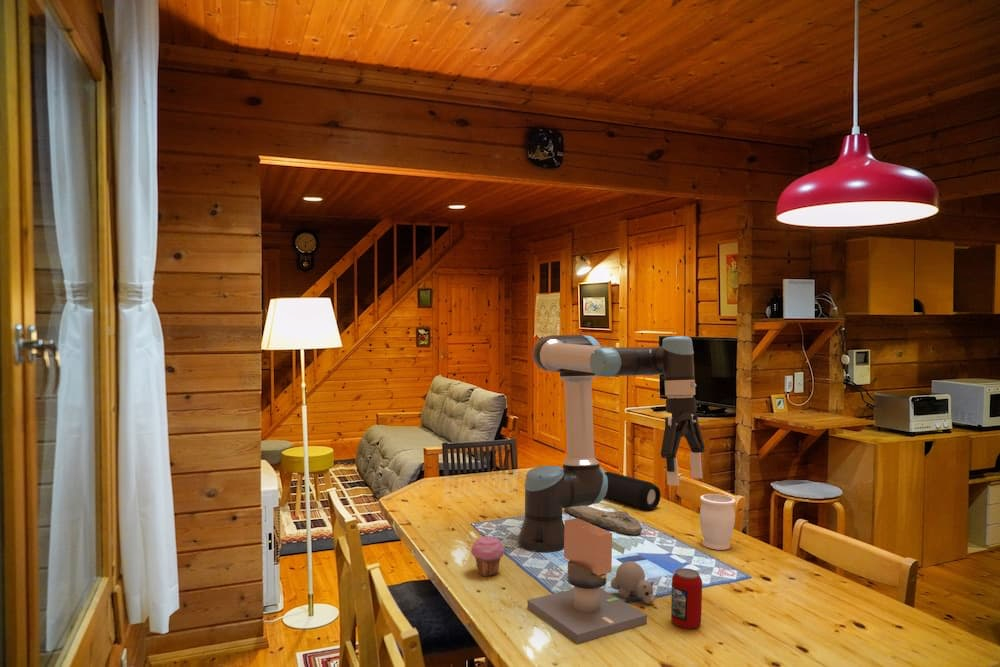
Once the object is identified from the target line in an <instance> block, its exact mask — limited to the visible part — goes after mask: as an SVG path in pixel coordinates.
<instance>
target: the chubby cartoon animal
mask: <svg viewBox="0 0 1000 667" xmlns="http://www.w3.org/2000/svg"><path fill="white" fill-rule="evenodd" d="M645 575H646V574H645V571H644V569H643V567H642V566H641V565H640V564H639V563H637V562H635V561H631V560H630V561H629V560H627V561H624V562H622V563H621V564H620V565H619V566H618V567H617V569H616V572H615V576H614V577H613V578H612V579H611V581H610V586H611V588H612V589H614V590H619V595H620V597H621V598H623V599H628V598H629V597H630V595H633V596H636V595H637V596H638V597H639V598H641V599H642V601H643V602H644V603H645V604H646V605H651V604H653V603H654V601H655V600H656V595H655V594H654V593H653V592H654V591H653V590H654V589H653V586H654V583H655V581H647V580H645V579H646V576H645Z"/></svg>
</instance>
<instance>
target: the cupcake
mask: <svg viewBox="0 0 1000 667" xmlns="http://www.w3.org/2000/svg"><path fill="white" fill-rule="evenodd" d="M504 554H505V547H504V544H503V542H502V541H501V540H499V539H498V538H497V537H494V536H485V535H484V536H481V537H477V539H476V540H475V541H474V543H473V545H472V547H471V555H472V556H474V559H475V561H476V568H477V570H478V573H479V574H480V575H481V576H483V577H487V576H493V575H497V574H498V573H499V571H500V562H501V558H502V557H503V556H504Z"/></svg>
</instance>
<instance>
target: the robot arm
mask: <svg viewBox="0 0 1000 667" xmlns="http://www.w3.org/2000/svg"><path fill="white" fill-rule="evenodd" d="M694 354H695V351H694V346H693V340H692V337H689V336H685V335H680V336H667V337H664V338H663V339H662V344H661V346H641V347H639V346H638V347H636V346H634V347H631V346H629V347H624V346H623V347H621V346H620V347H619V346H617V347H616V346H615V347H614V346H601V344H600V343H599V341H598V340H597V339H596V338H595V337H594V336H592V335H585V334H562V335H561V334H560V335H559V334H558V335H557V334H550V335H546V336H543V337H542V338H539V340H537V342H535V344H534V346H533V349H532V359H533V363H534V364H535V365H536V366H537V367H538V368H539V369H540V370H543V371H546V372H553V373H554V372H555V373H559V378H560V380H562V381H563V382H564V398H565V399H564V403H565V404H564V405H565V429H566V432H565V433H566V458H565V460H563V462H562V467H561V466H559V465H553V464H550V465H547V464H546V465H540V466H536V467H533V468H531V469H530V470H528V471H527V473H526V475H525V480H524V481H525V482H524V519H523V522H522V524H521V528H520V532H519V534H518V544H519V546H520V547H522V548H524V549H525V550H529V551H535V552H543V553H544V552H545V553H547V552H557V551H558V552H559V551H561V550H564V526H565V523H564V521H563V511H564V508H569V507H577V506H589V507H590V506H591V505H596V504H599V503H601V502H602V501H603V499H604V498H605V495H606V493H607V489H608V479H607V475H605V474H606V473H605V472H606V471H605V470H604V468H603V467H601V466H600V461H599V460H598V459H596V457H595V443H594V442H595V441H594V412H593V410H594V409H593V388H592V387H593V385H592V384H593V383H592V382H593V380H594V379H595V378H596V377H604V378H607V377H608V378H610V377H622V376H623V377H625V376H643V377H644V376H645V377H647V376H649V377H651V376H657V375H664V395H665V397H667V398H666V399H665V412H666V413H668V414H671V416H670V417H667V416H666V417H665V419H664V423H665V424H664V430H663V431H664V432H663V437H662V444H661V450H660V456H661V458H662V459H665V464H666V465H665V467H666V482H667V486H680V477H679V464H678V458H677V457H676V456H677V454H678V451H679V450H678V449H679V447H680V442H681V440H682V437H685V440H686V442H687V445H688V447H689V448H690V451H691V452H689V461H690V462H689V463H690V464H689V465H690V477H691V478H692V479H703V468H702V453H705V443H704V439H703V436H702V432H701V428H700V424H699V418H698V414H692V413H696V412H697V410H698V409H697V399H696V398H695V397H694V396H695V395H696V387H697V384H696V380H695V379H696V378H695V362H694V361H695V360H694V359H695V357H694Z"/></svg>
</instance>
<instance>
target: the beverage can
mask: <svg viewBox="0 0 1000 667" xmlns="http://www.w3.org/2000/svg"><path fill="white" fill-rule="evenodd" d="M702 601H703V580H702V578H701V576H700V573H699V571H697V570H695V569H693V568H686V567H685V568H684V567H682V568H677V569H676V570H675V573H674V574H673V575H672V577H671V602H670V603H671V605H670V608H671V610H670V611H671V612H670V619H671V621H672V622H673V623H674V624H675V625H676V626H678V627H680V628H683V629H695V628H697V627H698V626H700V625H701V623H702V605H703V602H702Z"/></svg>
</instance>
